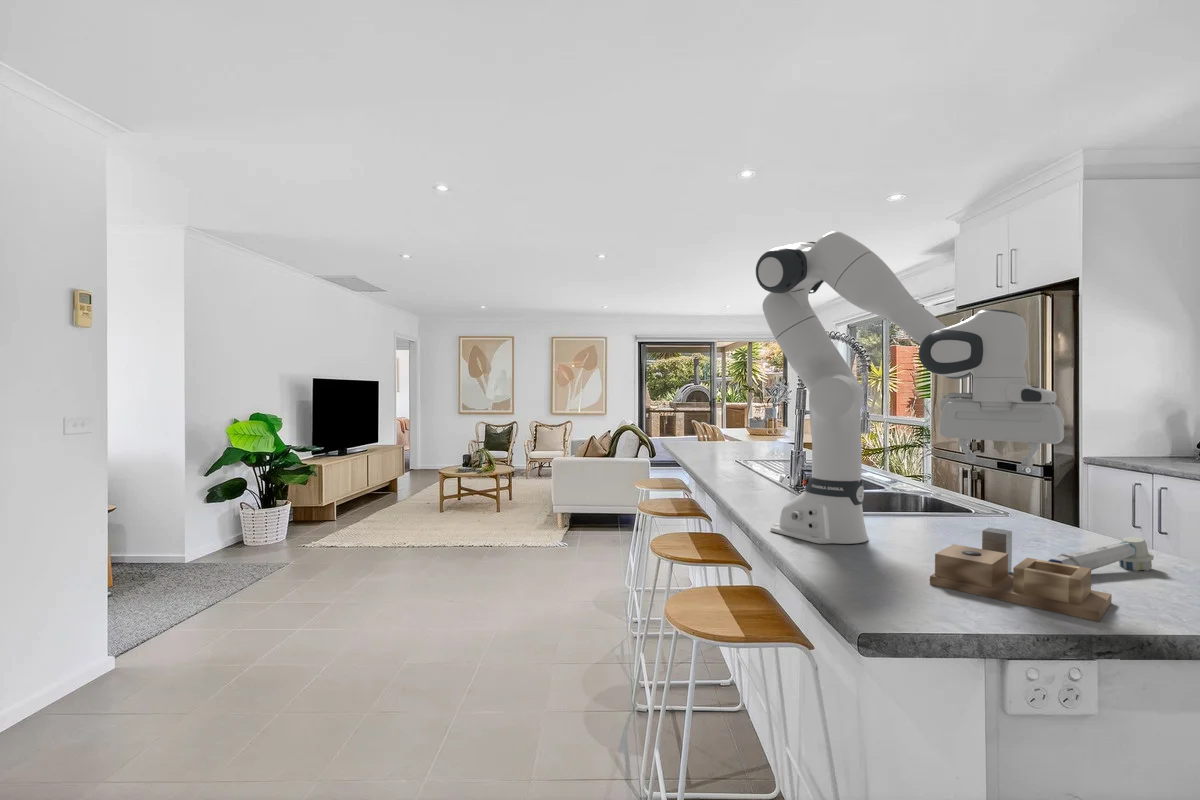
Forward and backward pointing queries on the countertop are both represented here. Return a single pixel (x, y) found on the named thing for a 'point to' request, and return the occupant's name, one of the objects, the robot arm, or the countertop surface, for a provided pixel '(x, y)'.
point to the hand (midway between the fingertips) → (997, 464)
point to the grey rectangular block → (998, 542)
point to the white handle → (1112, 556)
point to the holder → (1020, 581)
